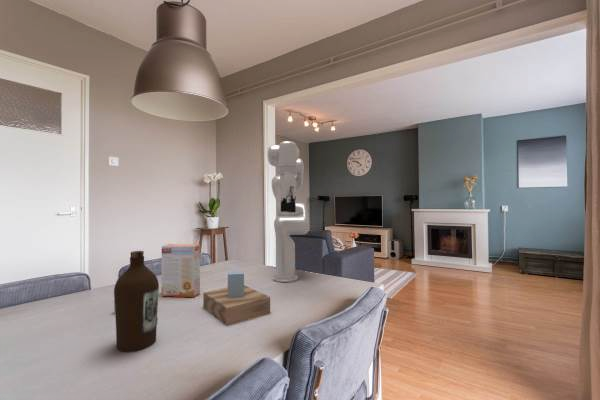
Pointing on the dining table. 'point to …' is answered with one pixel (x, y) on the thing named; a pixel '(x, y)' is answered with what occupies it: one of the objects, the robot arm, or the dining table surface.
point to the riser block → (236, 305)
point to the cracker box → (181, 270)
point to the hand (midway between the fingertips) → (287, 211)
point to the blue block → (236, 283)
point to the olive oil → (136, 306)
